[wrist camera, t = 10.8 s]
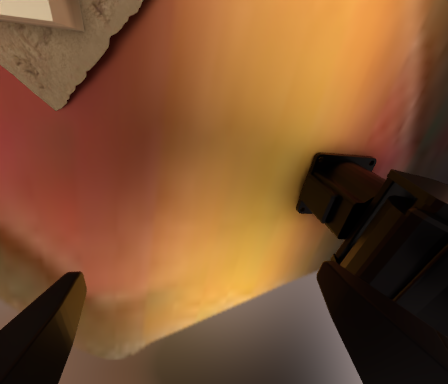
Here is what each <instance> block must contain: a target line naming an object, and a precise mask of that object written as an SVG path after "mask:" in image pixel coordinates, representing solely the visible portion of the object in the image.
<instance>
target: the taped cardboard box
mask: <svg viewBox="0 0 448 384" xmlns="http://www.w3.org/2000/svg"><path fill="white" fill-rule="evenodd" d="M0 21H4V22H12V23H20V24H28V25H36V26H44V27H52V28H60V29H68V30H75V31H83V32H85V30H84V25H83V19H82V13H81V7H80V2H79V0H0Z"/></svg>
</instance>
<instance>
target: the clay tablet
mask: <svg viewBox="0 0 448 384" xmlns="http://www.w3.org/2000/svg"><path fill="white" fill-rule="evenodd" d="M142 1H143V0H79V2H80V7H81V13H82V19H83V25H84V30H85V32H83V31H75V30H68V29H60V28H52V27H44V26H36V25H28V24H20V23H12V22H4V21H0V65H1V66H3V67H4V68H5V69H6V70H8V71H9V72H10V73H12V74H13V75H14V76H15V77H16V78H17V79H18V80H20V81H21V82H22V83H23V84H25V85H26V86H27V87H28V88H29V89H30V90H31V91H32V92H34V93H35V94H36V95H37V96H39V97H40V98H41V99H42V100H43V101H44V102H46V103H47V104H48V105H49V106H51V107H52V108H53V109H54V110H55V111H57V110H58V109H61V108H62V107H63V106H64V105H65V104H67V100H68V99H70V98H69V95H70V94H71V93H73V91H75V86H76V85H78V84H80V83H82V81H83V80H84V79H85V77H86V71H88V70H90V69H91V68H92V67H93V66H94V65H95V64H96V62H97V61H98V60H99V59H100V58H101V56H102V55H103V54H104V53H105V51H106V50H107V48H108V47H109V39H110V37H111V36H112V35H114V34H116V33H117V32H119V30H120V29H122V26H123V25H124V24H125V23H126V22H127V21H128V18H129V16H131V15H134V14H135V13H137V12H138V9H139V8H140V6H141V3H142Z"/></svg>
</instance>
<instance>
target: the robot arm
mask: <svg viewBox="0 0 448 384" xmlns="http://www.w3.org/2000/svg"><path fill="white" fill-rule="evenodd" d="M320 157H321V159H320V160H319V158H320ZM375 164H376V159H375V158H373V157H368V156H356V155H343V154H331V153H318V154H316V155H315V157H314V159H313V162H312V165H311V168H310V170H309V173H308V176H307V178H306V180H305V183H304V186H303V189H302V192H301V195H300V199H299V201H298V204H297V207H296V210H297V211H298V212H299V213H301V214H314V215H315V216H316V217H317V218H318V219H319V221H320V222H321V223H325V225H326V226H327V227H328V228H329V229H330V230H331V231H332V232H333V233H334V235H335V236H336V237H337V238H338V239H344V242H343V243H342V245H341V246H340V248H339V249H338V251H337V252H336V254H333V256H332V257H331V261H324V262H323V263H322V265H321V267H320V269H319V271H318V273H317V281H318V284H319V286H320V289H321V292H322V294H323V297H324V300H325V302H326V305H327V308H328V310H329V313H330V315H331V318H332V320H333V322H334V324H335V326H336V328H337V330H338V333H339V335H340V337H341V339H342V341H343V343H344V345H345V347H346V349H347V351H348V353H349V355H350V357H351V359H352V362H353V364H354V366H355V368H356V370H357V372H358V374H359V376H360V378H361V380H362V382H363V384H448V185H446V184H444V183H441V182H439V181H436V180H433V179H429V178H425V177H421V176H417V175H413V174H409V173H405V172H401V171H397V170H393V169H391V171H390V172H389V174H388V175H387V177H388V178H387V179H386V180H385V179H383V178H381V177H380V176H378V175H376V174H374V173H373V172H372V170H373V168H374V166H375ZM301 208H302V209H301ZM86 292H87V288H86V283H85V279H84V275H83V273H82V272H80V271H79V272H68V273H66V274H65V275H63V276H62V277H61V278H60V279H59V280H58V281H56V282H55V283H54V284H53V285H52V286H51V287H49V288H48V289H47V290H46V291H45V292H44V293H43V294H41V295H40V296H39V297H38V298H37V299H36V300H35V301H33V302H32V303H31V304H30V305H29V306H28V307H26V308H25V309H24V310H23V311H22V312H21V313H20V314H18V315H17V316H16V317H15V318H14V319H13V320H11V321H10V322H9V323H8V324H7V325H6V326H5V327H3V328H2V329H1V330H0V384H58V383H59V380H60V378H61V375H62V372H63V369H64V367H65V364H66V361H67V359H68V356H69V353H70V351H71V348H72V345H73V342H74V338H75V335H76V331H77V327H78V323H79V320H80V316H81V312H82V308H83V305H84V301H85V297H86Z"/></svg>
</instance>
